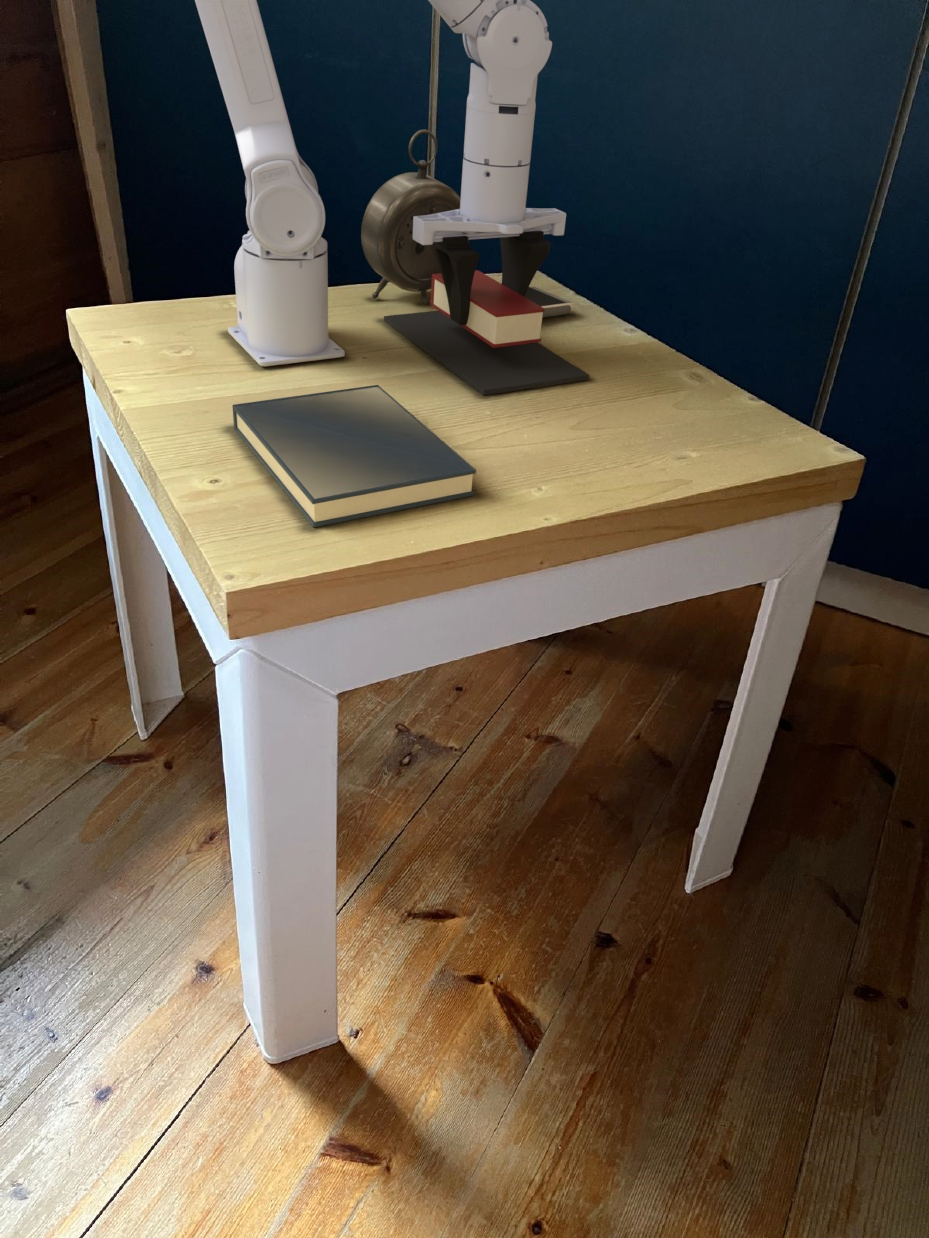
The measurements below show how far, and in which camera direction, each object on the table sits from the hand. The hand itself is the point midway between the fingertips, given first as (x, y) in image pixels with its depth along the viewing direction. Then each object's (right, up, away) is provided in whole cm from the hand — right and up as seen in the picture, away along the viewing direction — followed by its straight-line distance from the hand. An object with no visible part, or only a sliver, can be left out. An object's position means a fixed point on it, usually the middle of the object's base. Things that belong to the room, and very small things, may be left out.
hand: (483, 318), depth 91 cm
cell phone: (+4, +4, +11) cm, 12 cm away
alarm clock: (-7, +6, +13) cm, 16 cm away
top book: (0, 0, 0) cm, 0 cm away
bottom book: (-10, -16, -20) cm, 28 cm away
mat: (0, -2, +2) cm, 3 cm away
